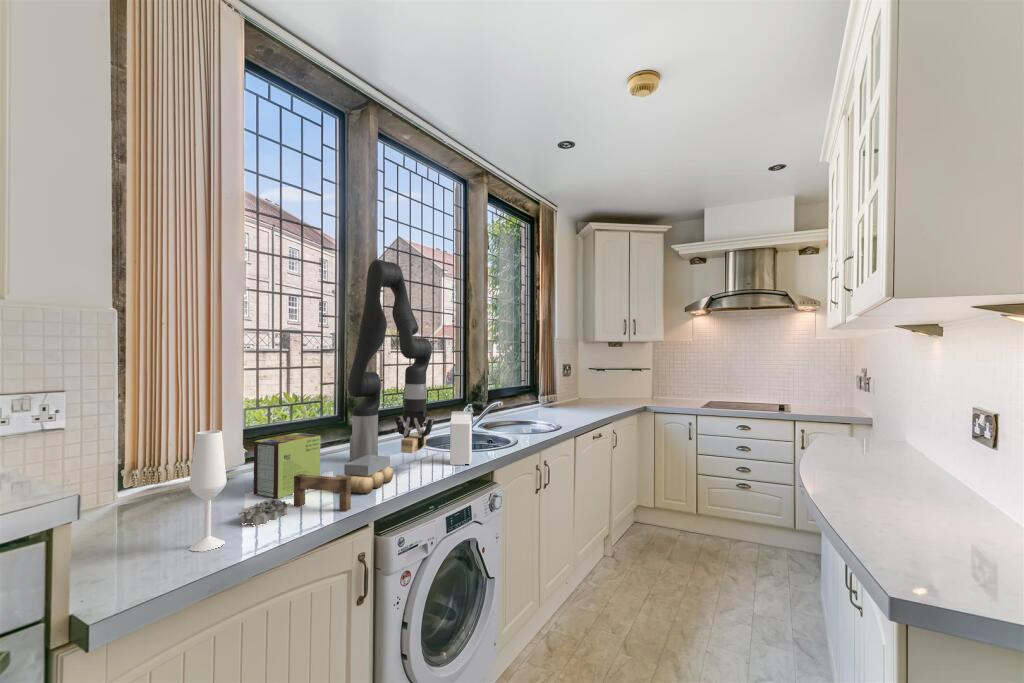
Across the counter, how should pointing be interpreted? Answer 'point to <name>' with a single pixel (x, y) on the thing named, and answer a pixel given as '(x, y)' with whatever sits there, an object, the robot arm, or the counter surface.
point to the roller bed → (369, 480)
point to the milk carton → (460, 438)
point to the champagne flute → (208, 480)
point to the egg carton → (263, 512)
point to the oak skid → (411, 444)
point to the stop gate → (323, 488)
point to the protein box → (284, 462)
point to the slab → (367, 465)
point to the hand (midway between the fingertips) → (413, 447)
